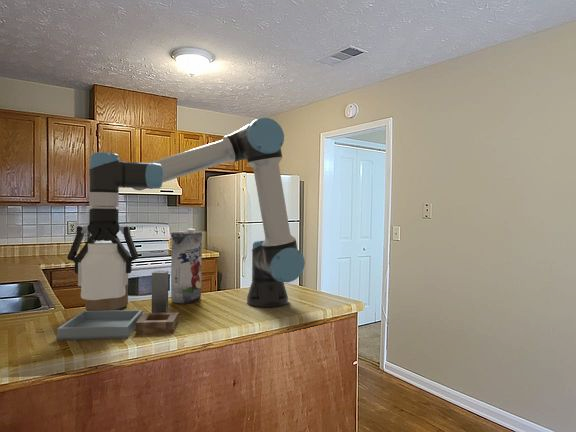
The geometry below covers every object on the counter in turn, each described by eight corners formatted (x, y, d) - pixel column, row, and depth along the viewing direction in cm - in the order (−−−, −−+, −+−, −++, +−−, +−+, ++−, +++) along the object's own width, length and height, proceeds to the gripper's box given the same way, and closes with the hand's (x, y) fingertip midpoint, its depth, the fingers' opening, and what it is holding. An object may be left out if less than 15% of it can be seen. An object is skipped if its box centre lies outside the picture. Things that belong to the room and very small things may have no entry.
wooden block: (111, 313, 130) (111, 252, 129) (84, 311, 132) (84, 251, 131) (129, 306, 140) (129, 249, 139) (103, 304, 142) (104, 248, 141)
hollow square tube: (178, 322, 121) (178, 312, 121) (173, 332, 111) (173, 321, 111) (144, 323, 120) (144, 313, 120) (135, 333, 110) (135, 322, 110)
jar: (121, 290, 121) (121, 241, 120) (128, 296, 113) (129, 243, 112) (78, 294, 114) (78, 242, 114) (83, 301, 106) (83, 245, 106)
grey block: (168, 312, 132) (168, 270, 131) (165, 316, 127) (166, 272, 127) (154, 313, 131) (154, 270, 131) (151, 316, 127) (151, 272, 126)
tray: (142, 319, 124) (142, 309, 123) (127, 338, 106) (127, 326, 106) (82, 320, 121) (82, 311, 121) (56, 340, 104) (56, 328, 104)
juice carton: (167, 302, 146) (167, 228, 145) (185, 296, 155) (185, 227, 155) (187, 305, 142) (188, 229, 142) (204, 299, 152) (205, 228, 151)
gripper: (150, 208, 118) (149, 282, 119) (65, 207, 115) (64, 282, 116) (144, 208, 111) (143, 287, 111) (53, 207, 108) (53, 287, 108)
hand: (103, 284), depth 113 cm, fingers closed on jar, 11 cm apart
